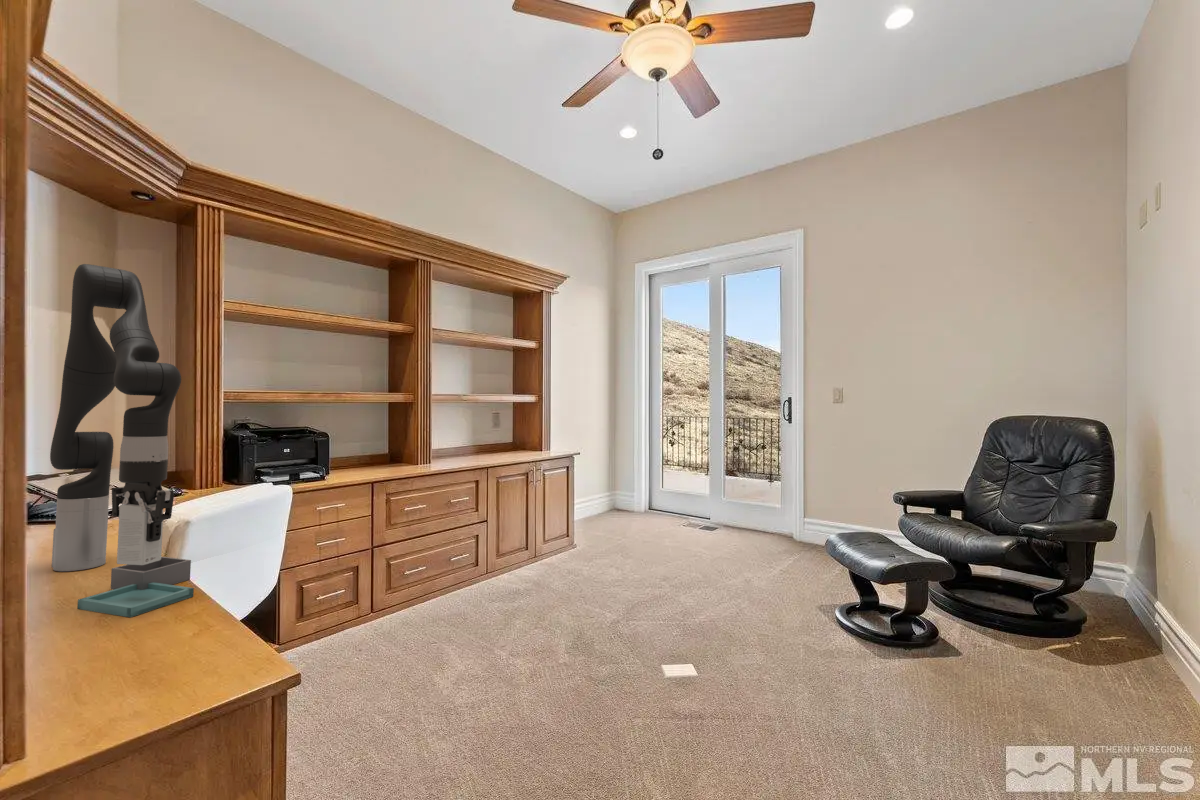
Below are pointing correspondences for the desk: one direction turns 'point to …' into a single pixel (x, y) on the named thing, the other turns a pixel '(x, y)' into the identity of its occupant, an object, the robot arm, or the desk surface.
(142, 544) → the skincare box
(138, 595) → the tray
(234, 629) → the desk surface
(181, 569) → the holder
